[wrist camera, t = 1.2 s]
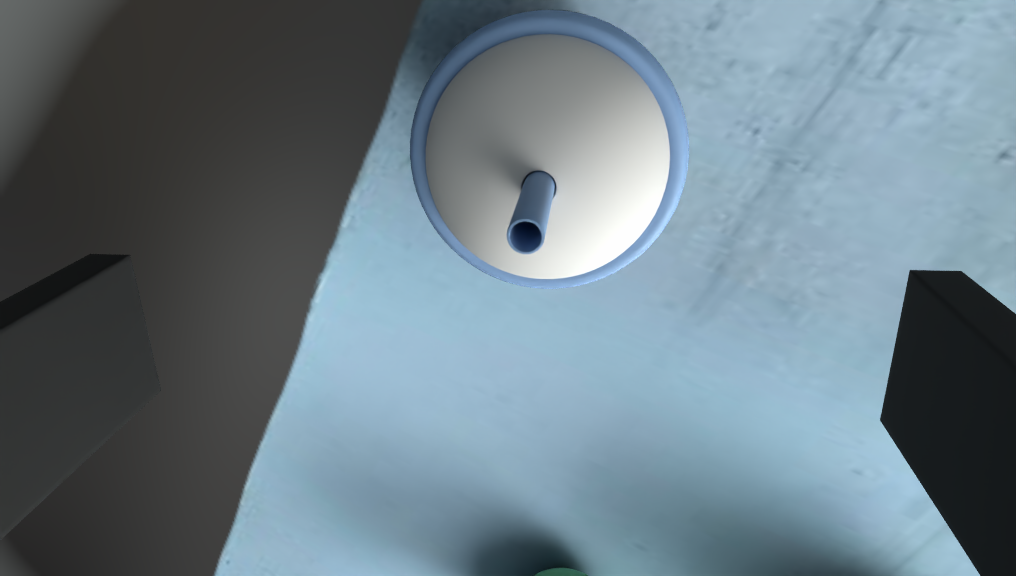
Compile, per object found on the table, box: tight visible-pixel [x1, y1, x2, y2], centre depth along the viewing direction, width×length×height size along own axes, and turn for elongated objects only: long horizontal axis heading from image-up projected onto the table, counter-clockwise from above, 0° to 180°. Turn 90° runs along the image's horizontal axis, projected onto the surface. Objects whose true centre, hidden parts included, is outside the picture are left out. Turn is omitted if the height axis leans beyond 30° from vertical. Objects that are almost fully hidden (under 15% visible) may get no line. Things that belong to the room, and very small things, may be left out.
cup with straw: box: [410, 10, 689, 289], centre depth 25 cm, size 9×9×18 cm
